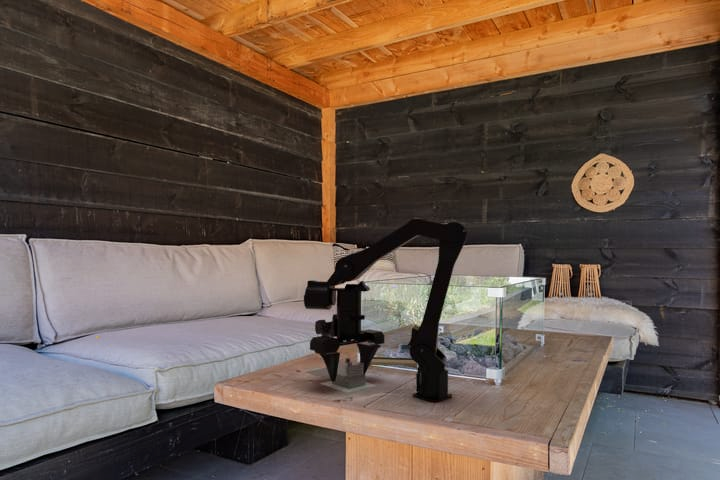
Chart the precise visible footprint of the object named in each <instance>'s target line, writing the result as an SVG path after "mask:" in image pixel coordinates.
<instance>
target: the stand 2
mask: <svg viewBox="0 0 720 480" xmlns="http://www.w3.org/2000/svg"><path fill="white" fill-rule="evenodd" d="M319 385H322V386H324V387H325V386H326V387H329V388H332V389H335V390H337V391H340V392H343V393H346V394H349V393H354V392H358V391H361V390H362V391H363V390H366V389H370V388H372V387H377V386H378V385H377V384H374V383H370V382H367V381H365V385H364V386H360V387H356V388H352V389H347V388H344V387H341V386H338V385H334V384H332V381H331V380H329V381H325V382H320V383H319Z"/></svg>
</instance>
